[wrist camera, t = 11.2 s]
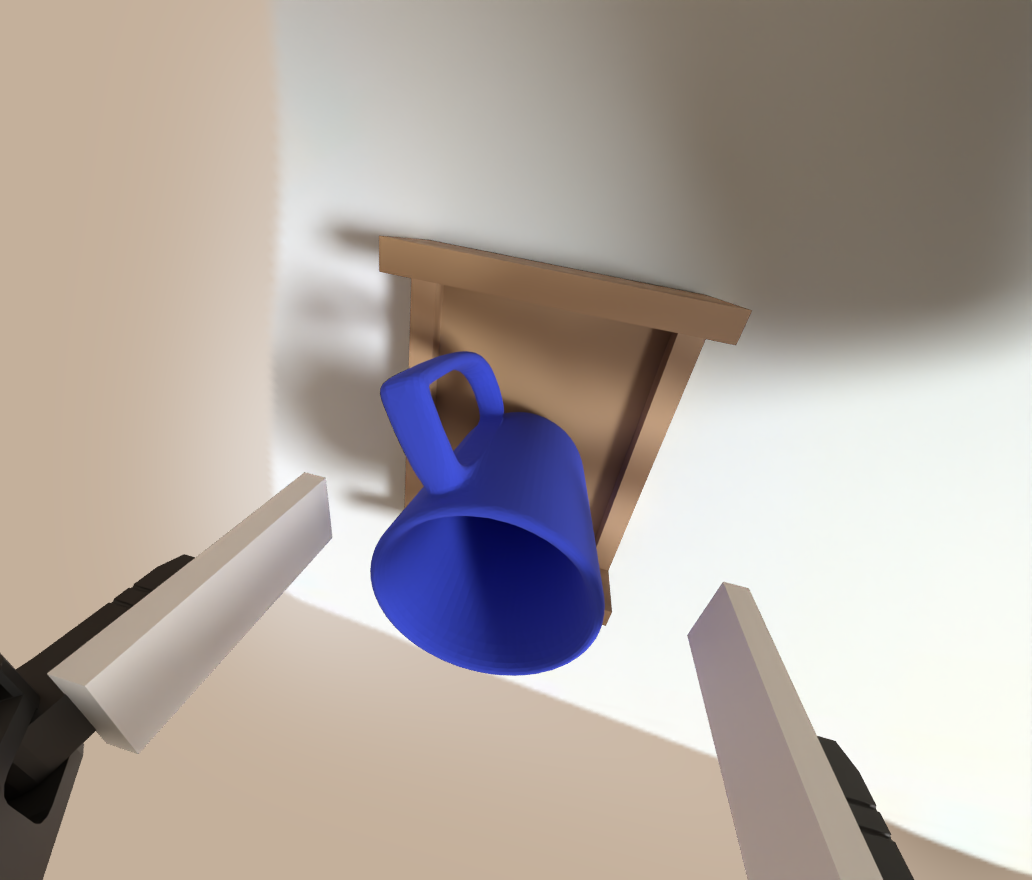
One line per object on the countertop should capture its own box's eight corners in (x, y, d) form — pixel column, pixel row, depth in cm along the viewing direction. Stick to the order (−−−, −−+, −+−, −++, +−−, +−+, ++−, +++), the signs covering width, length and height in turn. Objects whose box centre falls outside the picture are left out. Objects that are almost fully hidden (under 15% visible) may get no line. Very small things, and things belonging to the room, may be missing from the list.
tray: (429, 240, 18) (379, 235, 13) (707, 295, 17) (752, 310, 12) (415, 514, 26) (382, 568, 21) (601, 560, 25) (605, 625, 21)
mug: (555, 297, 17) (529, 346, 8) (607, 504, 22) (626, 675, 13) (405, 345, 19) (256, 424, 10) (482, 523, 24) (425, 680, 15)
